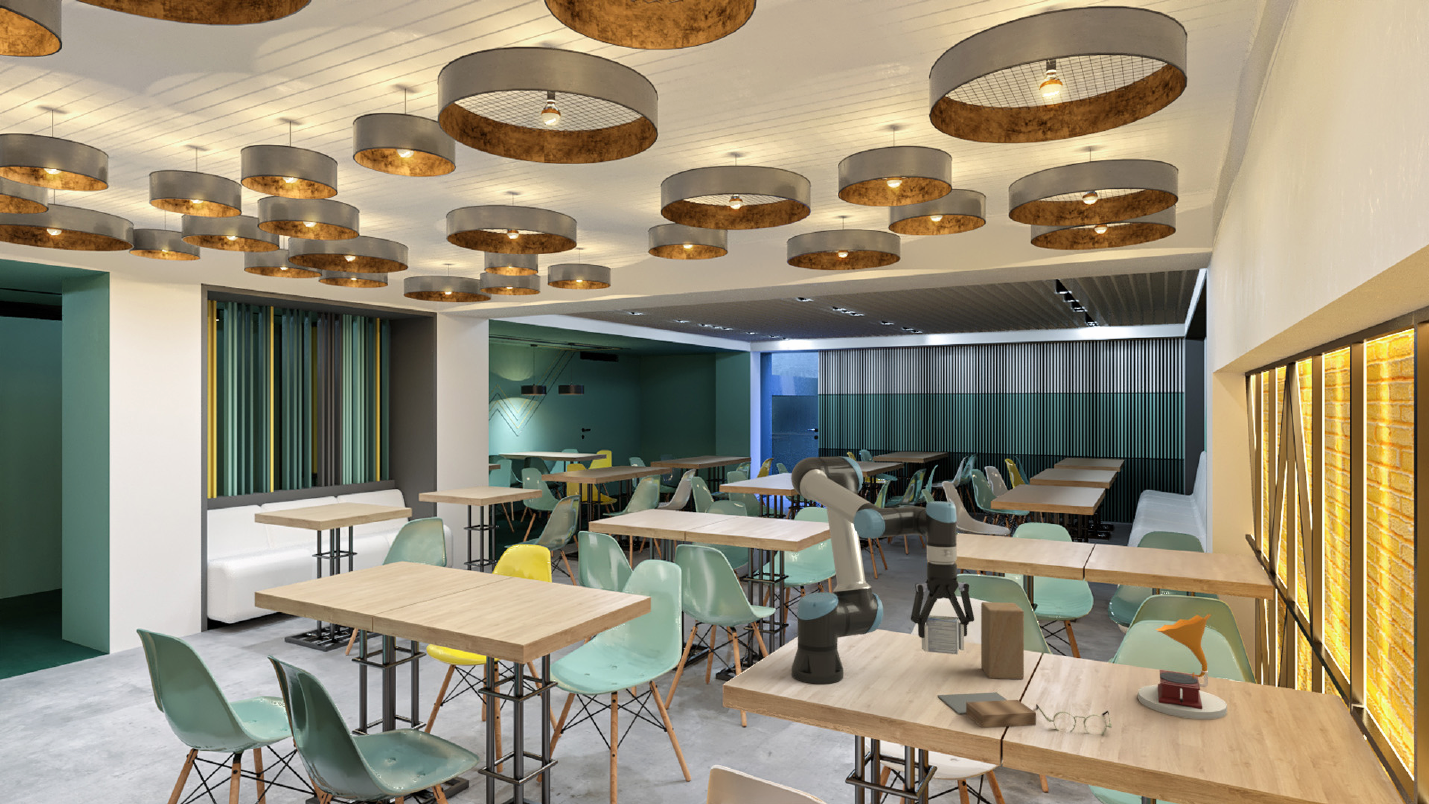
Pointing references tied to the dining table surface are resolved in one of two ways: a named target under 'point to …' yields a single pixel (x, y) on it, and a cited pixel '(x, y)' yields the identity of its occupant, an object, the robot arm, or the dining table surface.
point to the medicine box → (943, 634)
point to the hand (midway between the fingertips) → (942, 649)
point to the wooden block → (1002, 640)
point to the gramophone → (1184, 679)
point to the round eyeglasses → (1075, 719)
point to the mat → (968, 700)
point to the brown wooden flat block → (1000, 713)
